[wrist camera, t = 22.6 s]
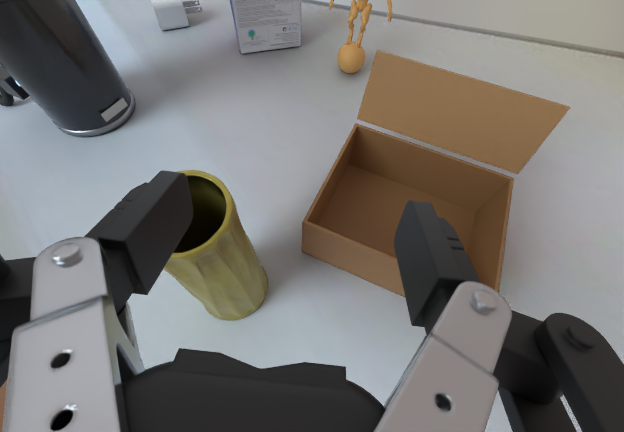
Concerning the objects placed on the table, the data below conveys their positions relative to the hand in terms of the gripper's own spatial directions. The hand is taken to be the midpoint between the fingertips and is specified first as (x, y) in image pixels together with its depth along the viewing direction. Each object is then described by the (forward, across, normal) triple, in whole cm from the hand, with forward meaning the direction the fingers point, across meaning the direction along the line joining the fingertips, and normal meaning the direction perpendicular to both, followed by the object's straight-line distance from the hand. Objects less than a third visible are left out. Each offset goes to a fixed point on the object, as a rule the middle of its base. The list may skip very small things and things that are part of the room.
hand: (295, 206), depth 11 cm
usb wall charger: (+48, +24, +1) cm, 53 cm away
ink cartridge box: (+45, +9, +1) cm, 46 cm away
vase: (+8, +6, +16) cm, 19 cm away
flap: (+18, -12, +1) cm, 21 cm away
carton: (+15, -10, +13) cm, 22 cm away
